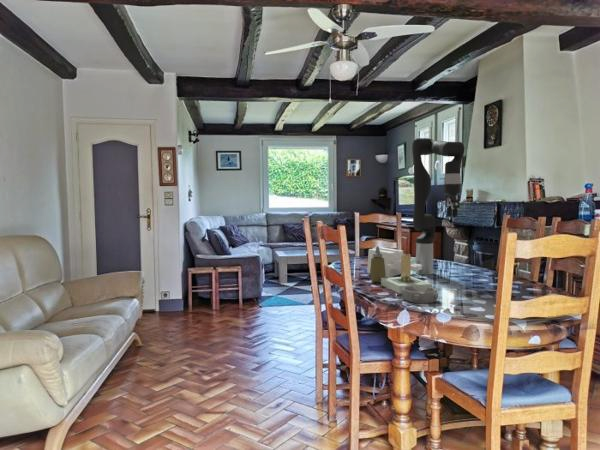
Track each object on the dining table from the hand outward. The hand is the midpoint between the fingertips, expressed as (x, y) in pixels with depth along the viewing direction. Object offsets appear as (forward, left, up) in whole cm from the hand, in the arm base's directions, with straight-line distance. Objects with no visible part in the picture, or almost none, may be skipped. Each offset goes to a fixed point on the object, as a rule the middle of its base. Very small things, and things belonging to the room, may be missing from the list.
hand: (452, 216), depth 207 cm
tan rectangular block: (+3, -26, -33) cm, 42 cm away
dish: (+26, -31, -34) cm, 52 cm away
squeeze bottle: (-16, -32, -33) cm, 49 cm away
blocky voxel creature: (-29, -16, -33) cm, 47 cm away
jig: (+3, -26, -33) cm, 42 cm away
